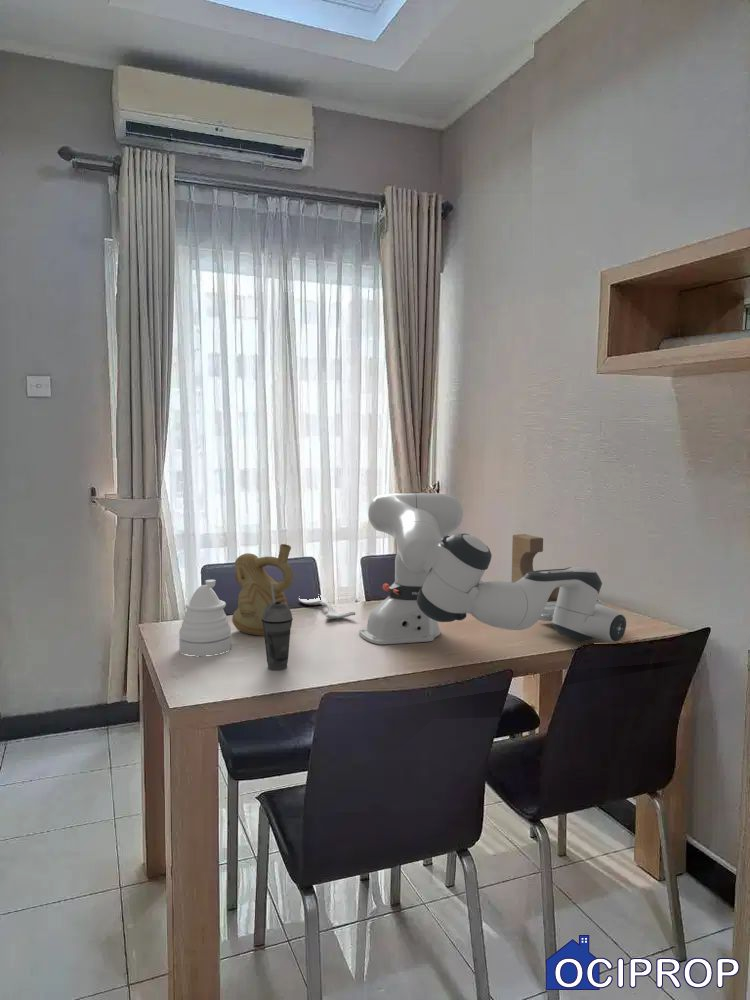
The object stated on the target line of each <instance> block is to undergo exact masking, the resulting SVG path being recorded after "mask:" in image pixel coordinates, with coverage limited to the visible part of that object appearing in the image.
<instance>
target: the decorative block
mask: <svg viewBox="0 0 750 1000" xmlns="http://www.w3.org/2000/svg"><path fill="white" fill-rule="evenodd" d="M543 551H544V538H543V537H539V536H535V535H530V534H526V533H521V534H520V533H519V534H513V535H512V549H511V552H512V553H511V559H512V560H511V582H512V583H514V582H516V581H518V580H520V579H521V578H523V577H524V575H525V574H526V573H528V572H531V571H535V570H534V565H533V564H534V558H535V556H536V555H538V553H542V552H543Z"/></svg>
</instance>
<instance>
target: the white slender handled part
mask: <svg viewBox="0 0 750 1000" xmlns="http://www.w3.org/2000/svg"><path fill="white" fill-rule="evenodd" d="M319 595H320V597H321V600H320V598H319V596H318V598H316V599H315V598H314V599H309V600H307V599H300V598H299V597H298V600H299V602H301V603H302V604H304V605H308V606H319V605H322V606H325V607H326V608H327V611H328V612H327V613H326V614H325V615H324V616H325V617H326V618H328V619H332V620H338V619H344V618H348V617H351V616H355V615H356V612H355V611H350V612H342V611H341V612H339V611H336V610H335V609H334V607H333V606H332V605H331V604H330V602H329V601H328V599H327V598H326V597H325V596H323V595H321V594H319Z"/></svg>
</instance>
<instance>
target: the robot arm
mask: <svg viewBox="0 0 750 1000" xmlns="http://www.w3.org/2000/svg"><path fill="white" fill-rule="evenodd" d="M367 513H368V514H367V515H368V516H367V517H368V520H369V522H370V525H371V526H372V528H374V530H376V531H378V532H382V533H385V534H387V535H390V536H392V537H393V538H395V539H396V542H397V549H398V551H397V553H396V555H395V559H394V582H393V583H392V584H391V585H390V584H388V583H383V585H382V587H381V588H382V590H383V591H385V592H388V596H387V597H386V598H385V599H384V600H383V601H382V602H380V603H379V604H378V605H377V606H376V607H374V608H373V609H371V611H370V612H369V615H368V618H367V624H366V627H362V628H360V629H359V636H360V637H361V638H362V639H363V640H365V641H368V642H370V643H372V644H375V645H394V644H397V645H398V644H407V643H408V644H410V643H423V642H424V643H425V642H433V641H434V640H435V638H436V637H438V636H440V634H441V630H440V627H439V623H452V622H454V621H464V620H465V619H466V618H467V614H470V615H471V616H472V617H474V619H476V620H477V621H479V622H480V623H483V624H484V625H488V626H490V627H493V628H498V629H501V630H510V631H522V630H523V631H524V630H526V629H529V628H531V627H533V626H535V625H536V623H538V621H543V622H551V624H552V627H553V628H554V630H555V632H557V634H559V635H562V636H565V637H567V638H570V639H571V640H573V641H574V640H575V641H577V642H586V641H591V640H592V639H594V638H595V639H597V640H602V641H605V642H610V643H617V642H619V641H621V639H622V638H623V637H624V635H625V632H626V629H627V618H626V617H625V616H624V614H623V613H622V612H619V611H618V610H615V609H613V608H611V607H609V606H606V605H603V601H602V599H599V598H598V597H599V595H600V592H601V589H602V585H603V582H602V580H601V578H600V575H599V574H598V573H597V572H596V571H594V570H593V569H591V568H588V567H584V566H570V567H565V568H559V569H558V568H556V569H555V568H553V569H539V570H534V571H531V572H528V573H526V574H525V575H524V577H523V578H521V579H520V580H518V581H516V582H514V583H512V581H510V582H509V581H503V580H502V581H500V580H499V581H497V580H494V581H493V580H492V581H482V580H481V579H482V578H483V576H484V573H485V572H486V570H488V568H489V566H490V564H491V561H492V552H491V549H490V548H489V547H488V545H487V544H485V542H483V541H482V540H481V539H480V538H479V537H476V536H474V535H471V534H469V533H454V534H452V533H453V532H455V531H456V530H457V529H458V528H459V526H460V525H461V523H462V521H463V516H464V510H463V505H462V504H461V502H460V501H459V499H458V498H457V497H456V496H454V495H450V494H449V495H448V494H444V493H440V492H439V493H438V492H437V493H435V492H434V493H433V492H430V493H429V492H428V493H427V492H426V493H425V492H424V493H420V492H416V493H415V492H414V493H410V492H409V493H405V492H404V493H401V492H400V493H398V492H397V493H394V492H393V493H386V494H381V495H376V496H375V497H374V498H373V499H372V501H371V502H370V504H369V507H368V512H367ZM451 534H452V535H451ZM557 587H560V589H559V594H558V598H557V601H552V602H547V601H548V599H549V597H550V595H551V593H552V592H553V590H554V589H555V588H557Z"/></svg>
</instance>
